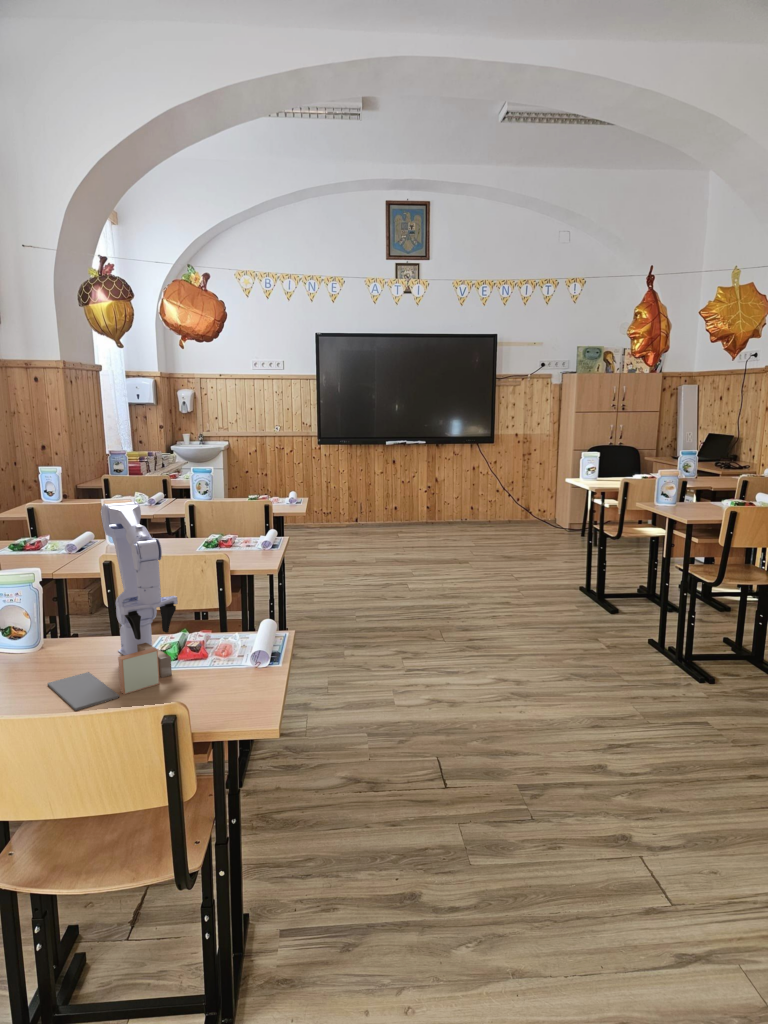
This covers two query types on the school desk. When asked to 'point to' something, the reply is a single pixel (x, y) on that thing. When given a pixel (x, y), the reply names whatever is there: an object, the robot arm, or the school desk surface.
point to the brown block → (159, 660)
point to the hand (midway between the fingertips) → (151, 635)
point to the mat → (82, 691)
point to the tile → (138, 670)
